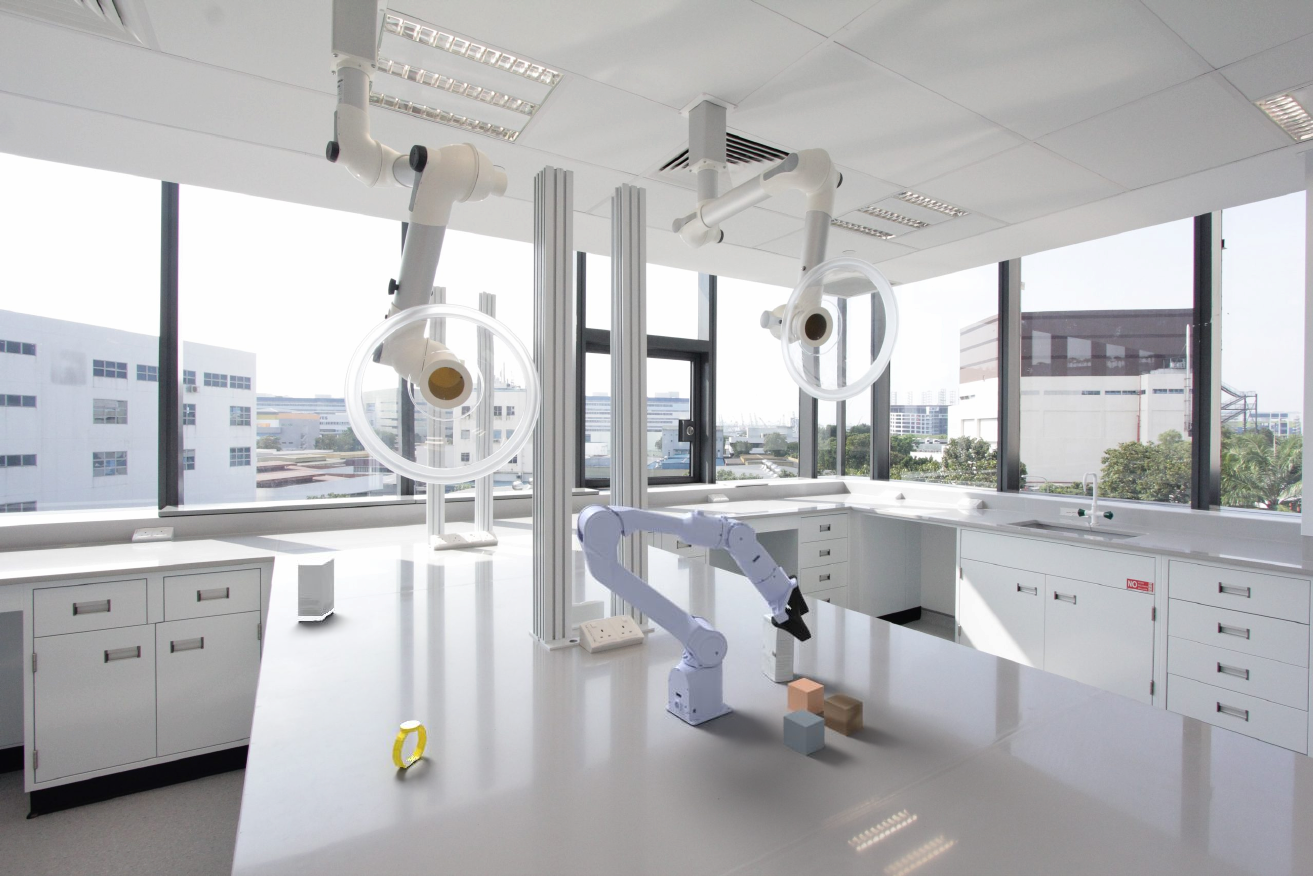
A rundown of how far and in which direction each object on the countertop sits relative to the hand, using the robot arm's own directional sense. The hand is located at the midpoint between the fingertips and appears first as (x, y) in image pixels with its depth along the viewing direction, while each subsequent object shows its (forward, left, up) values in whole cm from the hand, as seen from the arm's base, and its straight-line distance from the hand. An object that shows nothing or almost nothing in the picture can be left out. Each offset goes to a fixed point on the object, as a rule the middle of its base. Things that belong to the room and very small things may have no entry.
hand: (805, 625), depth 113 cm
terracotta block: (-4, -4, -13) cm, 15 cm away
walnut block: (-4, -12, -13) cm, 18 cm away
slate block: (-14, -12, -13) cm, 23 cm away
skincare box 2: (+3, +9, -14) cm, 17 cm away
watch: (-66, +20, -14) cm, 71 cm away
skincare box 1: (-68, +111, -14) cm, 131 cm away
